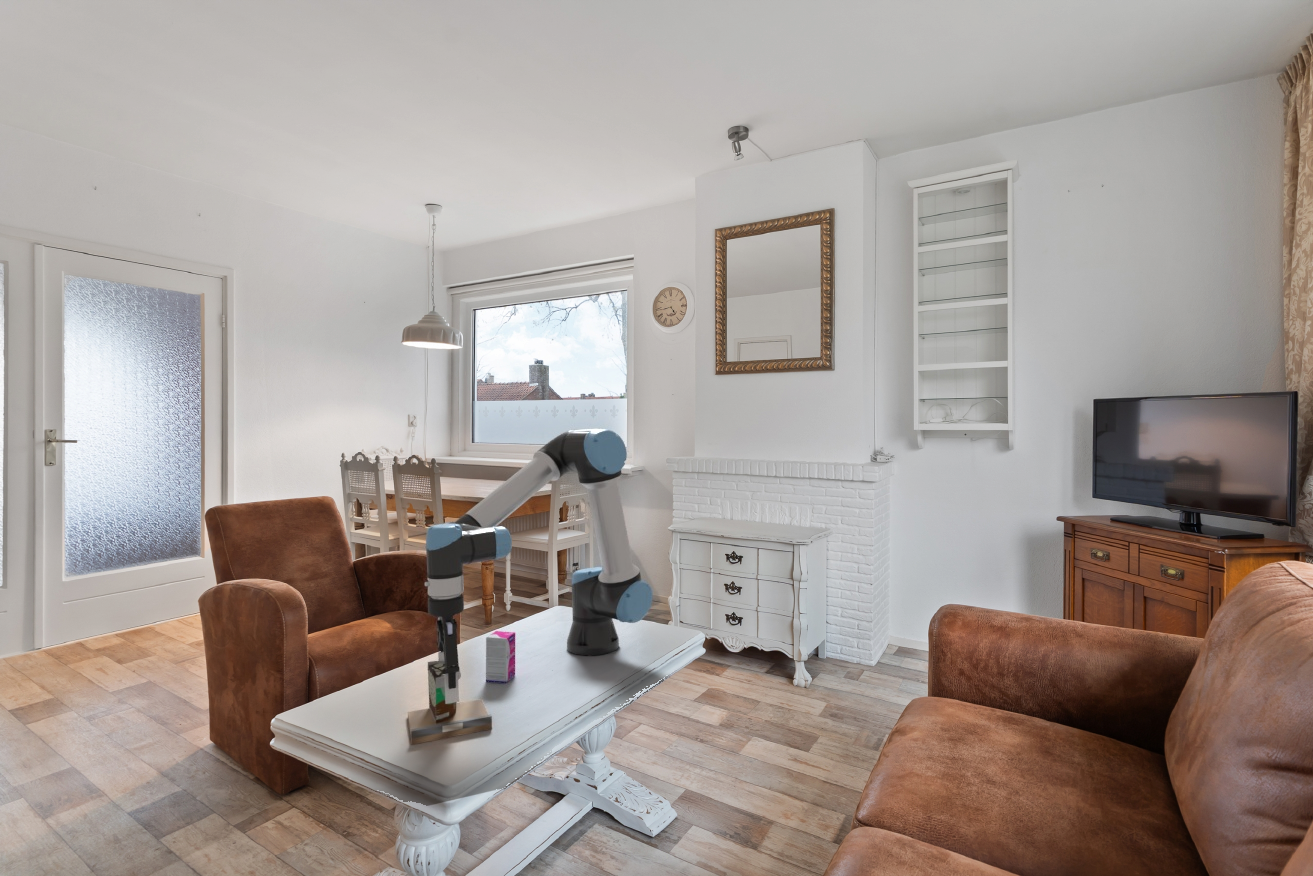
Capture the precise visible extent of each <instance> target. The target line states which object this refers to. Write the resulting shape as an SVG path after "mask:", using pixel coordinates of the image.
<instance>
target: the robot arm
mask: <svg viewBox="0 0 1313 876" xmlns="http://www.w3.org/2000/svg"><path fill="white" fill-rule="evenodd" d="M627 453H628V452H627V448H626V444H625V441H624V440H623V438H622V437H621V436H620V435H619V434H618V433H616V432H615V431H613V430H610V429H606V428H605V429H604V428H599V427H598V428H587V429H571V430H566V431H564V432H562V433H560V434H559V435H557V436H556V437H554V438H553V439H551V440H550V441H548V442H547V443H546V444H544V445H543V446H542V447H541V448H539V449H538V450H537V451H536V452H534V453H533V455H532V460H531V461H529V462H528V463H527V464H525V465H524V466H522V468H520V469H518V471H517V472H516V473H514V474H513V475H512V476H510V477H509V478H508V479H506V480H505V482H503V483H502V484H501V485H499V486H498V487H496V488H495V489H494V490H493V491H492V492H490V493H489V494H488V495H487V496H486V497H484V498H483V499H482V500H481V501H480V502H478V503H477V504H475V505H474V506H473V507H472V508H471V509H469V510H468V511H467V512H465V513H464V514H463V515H462V516H461V517H459V518H458V519H456V520H455V521H448V522H444V523H440V524H439V523H437V524H435V525H431V526H429V527H428V528H427V530H426V534H425V535H426V536H425V551H426V571H427V572H426V575H427V578H426V579H427V581H425V582H424V586H425V587H427V595H428V597H427V612H428V615H430V616H431V617H437V620H436V621H435V622H436V633H437V642H436V645H437V650H438V652H437V661H445V670H442V674H444V677H445V704H449V703H454V702H457V703H458V702H459V703H460V696H459V695H460V693H459V692H460V691H459V690H460V689H459V680H458V672H459V669H460V666H459V665H460V663H459V655H458V654H459V652H458V651H459V650H458V634H457V628H458V621H456V618H454V616H455V615H458V614H460V613H463V611H464V609H465V604H464V603H465V602H464V600H465V597H464V594H463V592H464V591H465V589H464V586H465V585H464V566H465V565H470V564H471V565H472V564H476V563H481V562H482V563H483V562H488V561H496V560H498V559H502V558H506V557H508V556H509V555H510V553H511V551H512V547H513V544H512V540H513V539H512V536H511V534H510V531H509V530H508V528H506V527H505V526H499V525H500V524H501V523H502V522H503V521H505V520H506V519H507V518H508V517H509V516H510V515H511V514H513V513H514V512H515V511H517V510H518V508H520V507H521V506H522V505H524V504H525V503H526V502H527V501H528V500H529V499H531V498H532V497H533V496H534V495H535V494H537V493H538V492H539V491H540V490H541V489H542V488H544V487H545V486H546V485H547V484H549V483H550V482H551V481H554V482H556V481H557V480H559V479H560V478H561V477H562V476H565V475H568V473H569V474H570V473H575V472H576V473H577V477H578V482H579V484H580V485H582V486H583V487H584V488H585V489H586V492H587V497H588V502H589V508H590V509H589V510H590V513H591V518H592V525H593V528H594V533H595V534H594V535H595V539H596V544H597V550H598V555H599V560H600V565H601V566H596V567H595V566H594V567H588V568H582V569H578V570H575V571H574V572H573V573H572V577H571V585H570V586H571V600H572V601H571V602H572V603H571V607H572V622H571V625H570V629H569V633H568V635H567V639H566V650H567V651H568V652H570V653H572V654H575V655H580V656H599V655H606V654H610V653H612V652H614V651H617V650H618V649H619V647H620V646H619V645H620V643H619V642H620V639H619V635H618V633H617V629H616V626H615V624H614V620H617V621H619V622H621V623H629V624H635V623H638V622H640V621H642V620H643V619H644V617H646V616H647V615H648V613H649V611H650V609H651V607H652V604H653V600H654V599H653V596H654V595H653V590H652V587H651V585H650V584H649V583H647V582H646V581H645V580H642V575H641V570H640V568H639V567H638V566H637V565H635V564H634V563H633V556H632V551H631V547H630V541H629V536H628V530H627V526H626V521H625V514H624V509H623V505H622V504H623V503H622V500H621V499H622V498H621V492H620V488H619V483H618V481H619V480H620V479H621V477H622V475H623V473H622V469H623V468H624V467H625V465H626V462H625V461H626V460H627V457H628V454H627ZM452 665H455V666H452ZM449 666H452V667H449ZM460 670H461V669H460Z"/></svg>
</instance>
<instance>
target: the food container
mask: <svg viewBox="0 0 1313 876" xmlns="http://www.w3.org/2000/svg"><path fill="white" fill-rule="evenodd" d="M452 666H455V665H452ZM452 666H449V667H452ZM442 670H445V661H438V660H433V661H427V675H428V677H427V679H428V682H427V683H428V707H429V708H430V711H431V713H432V715H433V718H434V720H435V723H440V722H443V721H446V720H448V719H450V718H452V717H453V716H454V715H455V714H456V704H457V703H458V702H454V703H449V704H445V677H444V674H442ZM461 678H462V673H461V669H459V672H458V681H459V680H460V679H461Z"/></svg>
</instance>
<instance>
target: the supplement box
mask: <svg viewBox="0 0 1313 876" xmlns="http://www.w3.org/2000/svg"><path fill="white" fill-rule="evenodd" d="M485 641H486V642H485V683H491V684H508V682H509V681H510V680H512V679H513V678H514V677H515V676H516V632H515V631H500V630H499V631H498V630H496V631H494V632H492V633H490V634H489V635H488V636H486V637H485Z"/></svg>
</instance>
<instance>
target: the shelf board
mask: <svg viewBox="0 0 1313 876" xmlns="http://www.w3.org/2000/svg"><path fill="white" fill-rule="evenodd" d="M407 719H408V727H409V735H410V743H411V744H410V745H416V744H422V743H426V742H432V741H437V740H442V739H447V738H452V737H457V736H462V735H467V734H473V733H478V732H483V731H488V730H492V729H493V716H492V714H491V713H490V714H489V713H488V711H487V708H486V706H485V703H484V702H483V698H480V699H479V698H478V699H475V700H469V701H464V702H459V703H458V702H457V704H456V714H455V715H454V716H453V717H452V718H450V719H448V720H446V721H443V722H440V723H435V720H434V718H433V715H432V713H431V711H430V708H423V709H418V710H412V711H408V712H407Z"/></svg>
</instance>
